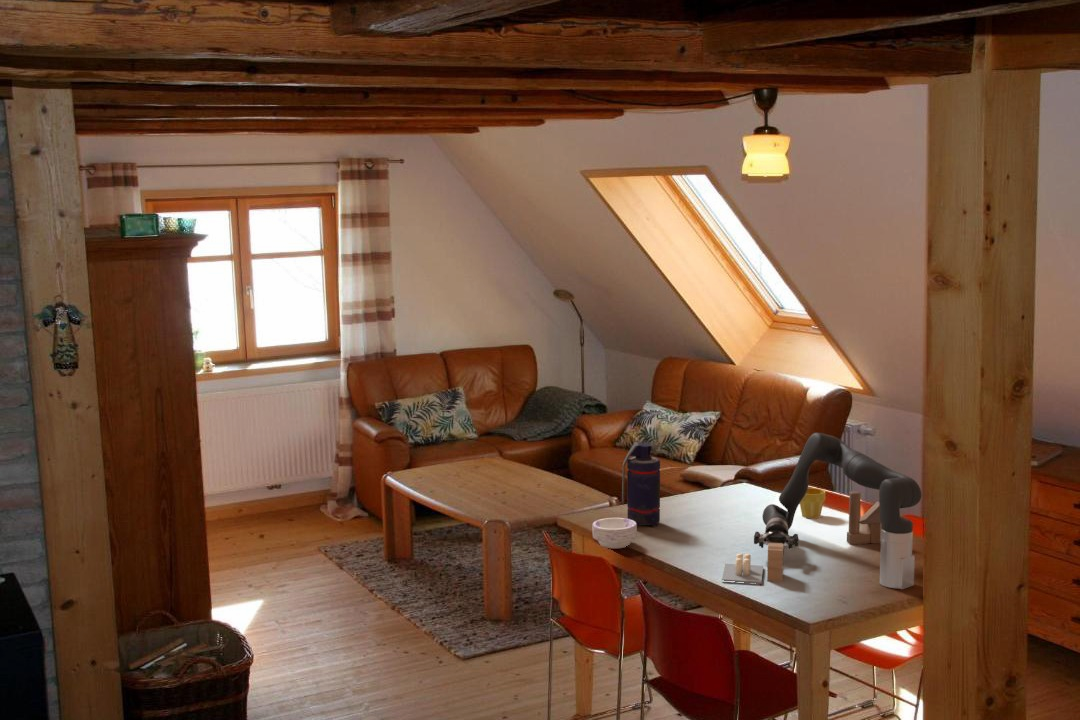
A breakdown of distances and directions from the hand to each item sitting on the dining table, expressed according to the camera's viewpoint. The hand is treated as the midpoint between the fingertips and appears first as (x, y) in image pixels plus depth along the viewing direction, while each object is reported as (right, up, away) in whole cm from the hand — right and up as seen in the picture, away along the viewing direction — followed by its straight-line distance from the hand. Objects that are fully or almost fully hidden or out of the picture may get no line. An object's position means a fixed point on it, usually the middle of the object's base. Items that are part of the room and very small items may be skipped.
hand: (775, 545), depth 372 cm
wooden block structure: (+36, -3, +26) cm, 44 cm away
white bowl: (-50, -4, +26) cm, 57 cm away
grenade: (-39, 0, +52) cm, 65 cm away
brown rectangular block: (-2, -8, -9) cm, 13 cm away
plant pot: (+25, +1, +60) cm, 65 cm away
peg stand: (-12, -8, -7) cm, 16 cm away
